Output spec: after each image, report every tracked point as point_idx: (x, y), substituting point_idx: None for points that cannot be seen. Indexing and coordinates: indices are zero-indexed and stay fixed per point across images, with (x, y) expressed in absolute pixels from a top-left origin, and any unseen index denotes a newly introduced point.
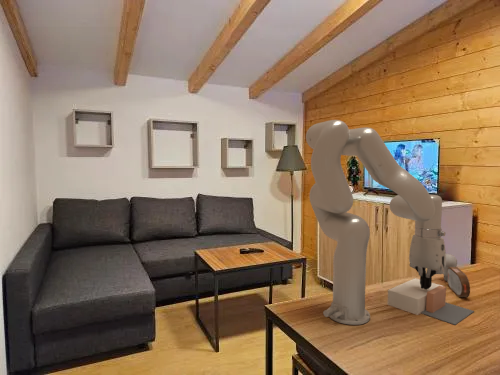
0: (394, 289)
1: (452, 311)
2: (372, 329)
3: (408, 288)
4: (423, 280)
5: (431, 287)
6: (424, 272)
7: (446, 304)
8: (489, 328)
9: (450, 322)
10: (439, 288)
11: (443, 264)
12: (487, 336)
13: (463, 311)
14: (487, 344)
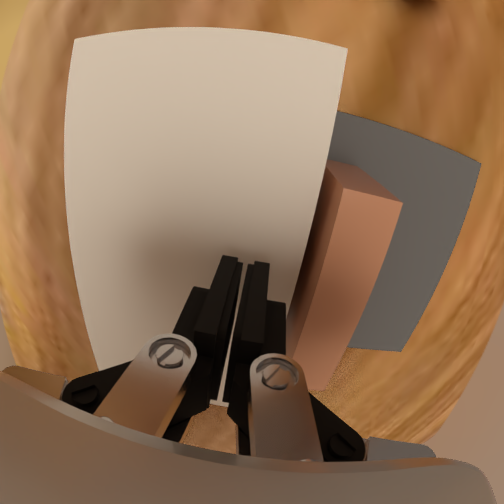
0: (109, 357)
1: (399, 238)
2: (203, 447)
3: (141, 308)
4: (221, 378)
5: (261, 169)
6: (187, 395)
7: (361, 148)
8: (495, 296)
9: (386, 349)
10: (353, 271)
11: (478, 497)
12: (471, 350)
13: (443, 202)
14: (455, 385)
